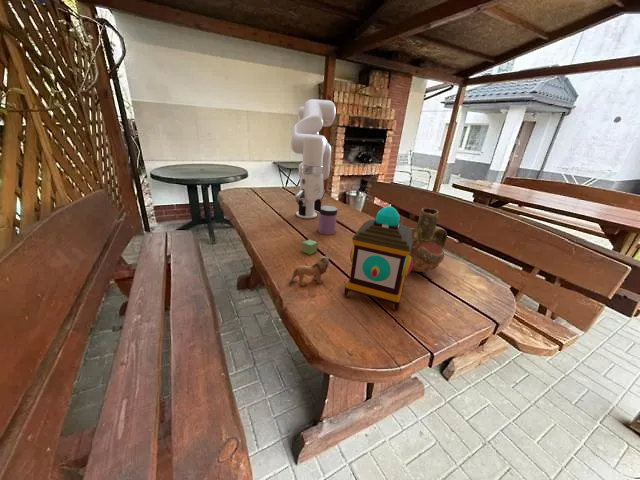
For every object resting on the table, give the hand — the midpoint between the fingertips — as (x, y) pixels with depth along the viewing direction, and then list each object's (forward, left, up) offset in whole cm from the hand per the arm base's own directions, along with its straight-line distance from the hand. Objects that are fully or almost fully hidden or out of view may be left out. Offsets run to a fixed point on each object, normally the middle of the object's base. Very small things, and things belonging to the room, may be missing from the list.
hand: (309, 212), depth 107 cm
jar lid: (-25, -8, -6) cm, 27 cm away
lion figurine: (+18, +16, -18) cm, 30 cm away
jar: (-25, -8, -18) cm, 32 cm away
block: (0, +1, -18) cm, 18 cm away
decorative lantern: (+7, +36, -18) cm, 40 cm away
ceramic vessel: (-18, +41, -18) cm, 48 cm away
